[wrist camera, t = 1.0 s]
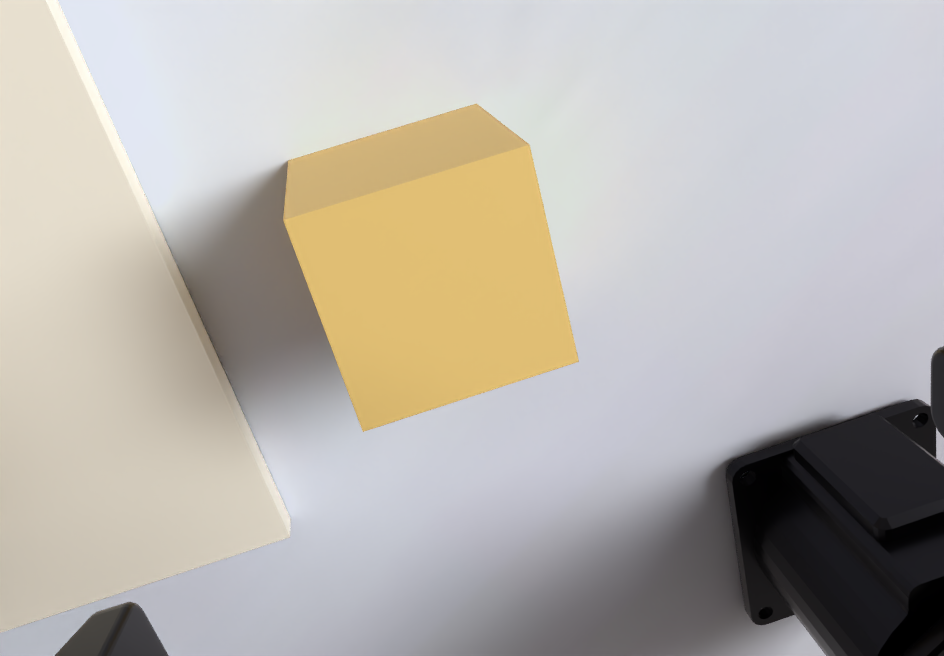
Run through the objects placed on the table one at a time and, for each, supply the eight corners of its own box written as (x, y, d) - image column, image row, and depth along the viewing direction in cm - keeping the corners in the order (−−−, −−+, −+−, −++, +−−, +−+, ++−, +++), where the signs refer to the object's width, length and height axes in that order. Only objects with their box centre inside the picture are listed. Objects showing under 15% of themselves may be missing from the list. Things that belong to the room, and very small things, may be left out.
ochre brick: (519, 277, 21) (579, 361, 16) (350, 330, 21) (363, 431, 16) (475, 103, 19) (529, 144, 14) (288, 160, 19) (282, 219, 14)
